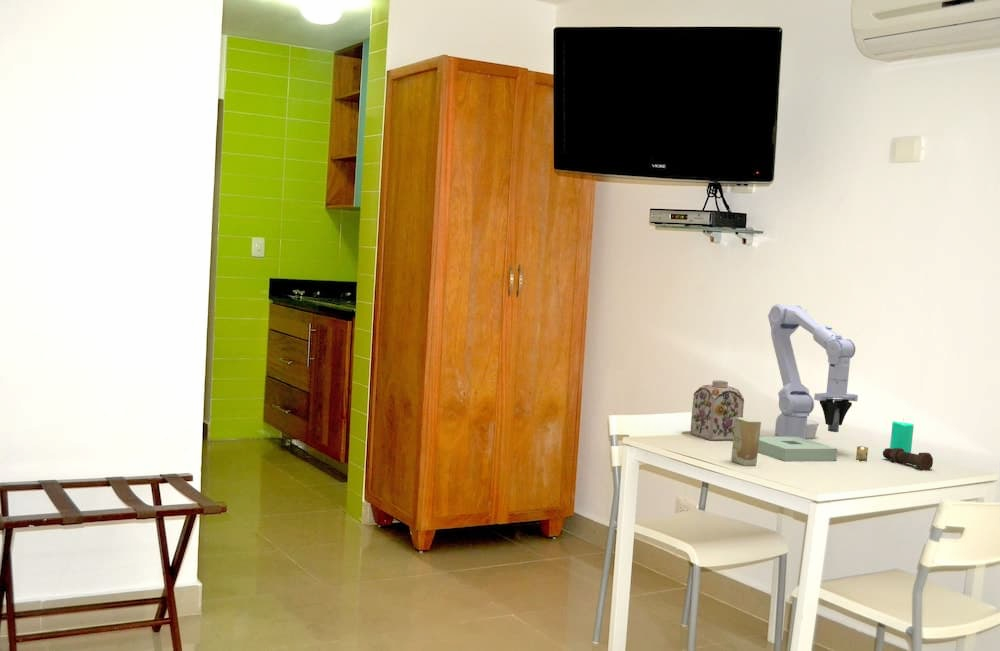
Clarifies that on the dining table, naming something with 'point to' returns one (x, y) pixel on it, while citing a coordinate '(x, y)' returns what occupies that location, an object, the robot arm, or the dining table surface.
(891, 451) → the bolt
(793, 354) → the robot arm
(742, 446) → the skincare box
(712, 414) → the decorative jar
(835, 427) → the tall pin
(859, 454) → the short pin
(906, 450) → the candle
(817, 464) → the dining table surface
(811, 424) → the ramekin
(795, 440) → the collar plate
